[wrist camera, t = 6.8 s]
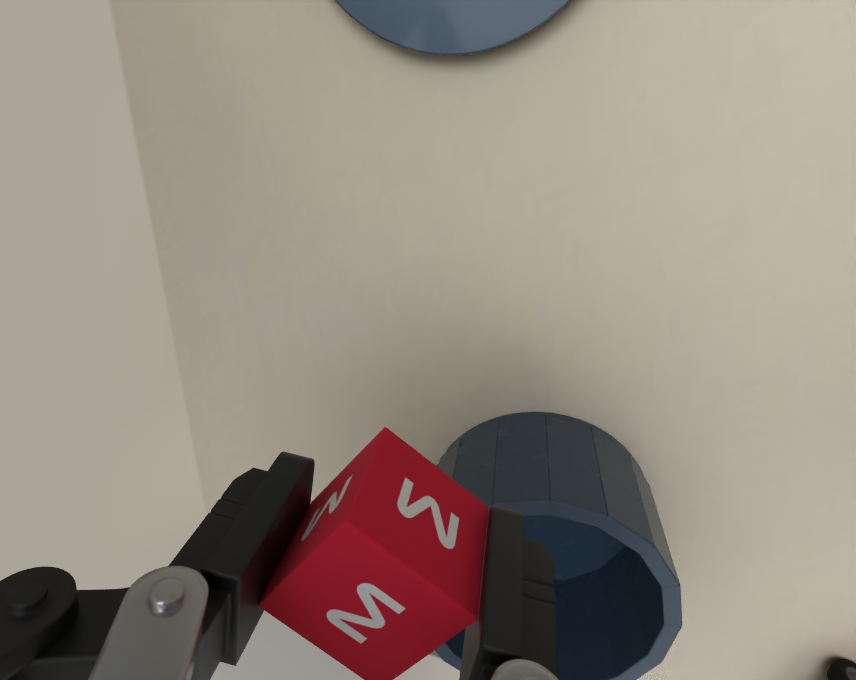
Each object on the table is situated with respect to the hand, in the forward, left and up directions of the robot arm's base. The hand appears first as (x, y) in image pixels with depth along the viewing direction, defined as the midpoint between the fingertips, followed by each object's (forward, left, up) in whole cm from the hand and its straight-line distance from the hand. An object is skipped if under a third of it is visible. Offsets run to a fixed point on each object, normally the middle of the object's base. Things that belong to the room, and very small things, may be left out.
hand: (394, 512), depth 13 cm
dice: (0, 0, 0) cm, 0 cm away
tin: (+7, -13, -17) cm, 23 cm away
